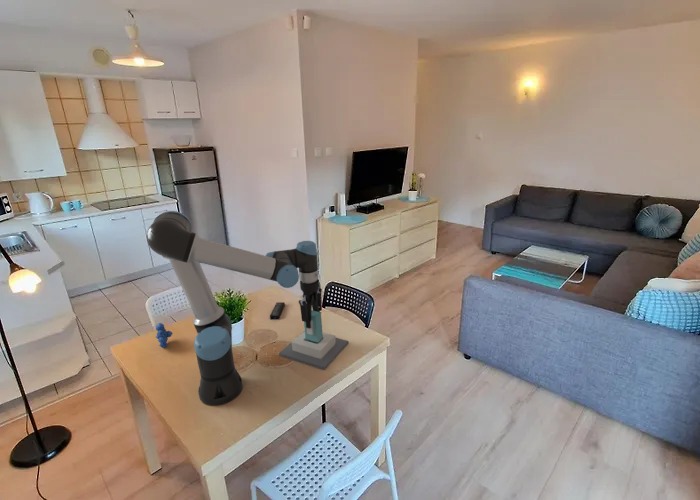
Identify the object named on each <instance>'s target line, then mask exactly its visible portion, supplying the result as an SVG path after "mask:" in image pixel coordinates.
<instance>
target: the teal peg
mask: <svg viewBox="0 0 700 500" xmlns="http://www.w3.org/2000/svg"><path fill="white" fill-rule="evenodd" d="M311 320H313V333H314V334H313V335H310V334H307V328H306V322H303V326H304V327H303V328H304V331H305V338H306V340H310V341H314V342H317V343H318V342H319V341H320V340H321V339H322V338H323V333H322V332H323V322H322V312H321V311H320V312H317V311H313V309H312V312H311Z"/></svg>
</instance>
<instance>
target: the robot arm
mask: <svg viewBox="0 0 700 500" xmlns="http://www.w3.org/2000/svg"><path fill="white" fill-rule="evenodd" d="M192 229H193V228H192V223H191V221H190V219H189V218H188V217H187V215H185V214H184V213H182V212H180V211H176V210H166V211H165V212H161V213H160V214H159V215H157V216H156V217H155V219H154V220H153V222H152V224H151V225H150V226H149V227H148V229H147V231H146V242H147V244H148V247H149V248H150V249H151V250H152V251H153V252H154V253H156V254H157V255H160V256H161V257H162V258H164V259H166V260H169V263H170V264H171V267H172V268H173V271H174V273H175V275H176V278H177V280H178V282H179V284H180V287H181V289H182V290H183V293H184V296H185V297H186V300H187V301H188V304H189V305H190V309H191V311H192V313H193V316H194V317H193V319H192V324H193V326H194V328H195V331H196V333H197V335H196V336H195V338H194V346H193V347H194V348H193V349H194V351H195V354H196V361H197V366H198V369H199V374H200V381H199V387H198V397H199V400H200V401H201V403H203V404H205V405H207V406H220V405H223V404H227V403H229V402H231V401H233V400H235V399H236V398H237V397H238V396H239V395H240V394H241V392H242V391H243V388H244V387H243V386H244V384H243V379H242V376H241V375H240V374H239V371H238V370H237V369H236V366H235V365H236V364H235V361H234V360H235V359H234V354H233V341H232V340H233V339H232V338H233V337H232V335H233V334H232V330H233V323H232V320H231V318H230V317H229V315H228V314H226V312H225V309H224V308H223V307H222V306H218V304H217V301H216V299H215V297H214V294H213V291H212V289H211V287H210V285H209V282H208V280H207V277H206V275H205V272H204V270H203V268H202V265H201V264H204V265H208V266H211V267H217V268H220V269H224V270H227V271H228V270H229V271H232V272H237V273H241V274H244V275H249V276H253V277H257V278H262V279H265V280H270V281H272V282H277V284H279V285H280V287H283V288H286V289H290V288H292V287H295V286H296V284H298V282H299V286H300V290H301V291H302V299H299V300H298V304H299V307H300V308H299V309H300V313H301V314H300V315H301V321H302V322H303V323H304V322H306V328H307V334H310V335H313V334H314V333H313V320H311V312H312V310H313V311H317V312H321V311H322V309H323V307H322V306H323V305H322V304H323V303H322V301H323V300H322V291H323V289H322V288H320V279H319V278H320V277H319V276H320V275H319V265H318V264H319V263H318V250H317V244H316V243H315V242H314V241H312V240H302V241H300V242H297V244H296V247H295V248H292V249H284V250H274V251H270V252H267V253H266V254H265V255H264V254H260V253H256V252H253V251H250V250H247V249H246V250H245V249H242V248H239V247H235V246H231V245H227V244H224V243H220V242H216V241H212V240H210V239H209V240H208V239H205V238H201V237H200V236H199V235H198V233H195V232H192V231H193V230H192Z"/></svg>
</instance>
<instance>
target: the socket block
mask: <svg viewBox="0 0 700 500" xmlns="http://www.w3.org/2000/svg"><path fill="white" fill-rule="evenodd" d="M322 333H323V338H322V339H321V340H320V341H319V342H318V343H317V342H314V341H310V340H306V338H305V330H304V331H302V333H300V334H299V335H298V336H297V337H296V338H294V339H293V340H292V341H291V342H290V343H288V345H287V346H285V347H284V348H282V350H281V351H279V352H278V356H279V355H280V357H282V356H283V357H282V358H285V359H289V360H291V361H295V362H298V363H300V364H305V365H307V366H311V367H314V368H317V369H320V370H322V371H325V370H326V369H327V368H328V367H329V366H330V365H331V364H332V363H333V361H334V360H335V359H336V358H337V357H338V356H339V355H340V354H341V352H342V351H343V350H344V349H345V348H346V347H347V346H348V345H349V340H348V339H342V338H339V337H336V335H335V334H331V333H327V332H324V331H322Z"/></svg>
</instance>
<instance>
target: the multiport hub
mask: <svg viewBox="0 0 700 500" xmlns="http://www.w3.org/2000/svg"><path fill="white" fill-rule="evenodd" d="M285 306H286V304H285V302H283V301H282V302H280V301H279V302H278V301H277V302H276V303H275V304H274V307H273V309H272V311H271V313H270V315H269V319H270V320H273V321H275V320H277V321H279V320H280V318H281V316H282V314H283V311H284V309H285Z"/></svg>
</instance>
